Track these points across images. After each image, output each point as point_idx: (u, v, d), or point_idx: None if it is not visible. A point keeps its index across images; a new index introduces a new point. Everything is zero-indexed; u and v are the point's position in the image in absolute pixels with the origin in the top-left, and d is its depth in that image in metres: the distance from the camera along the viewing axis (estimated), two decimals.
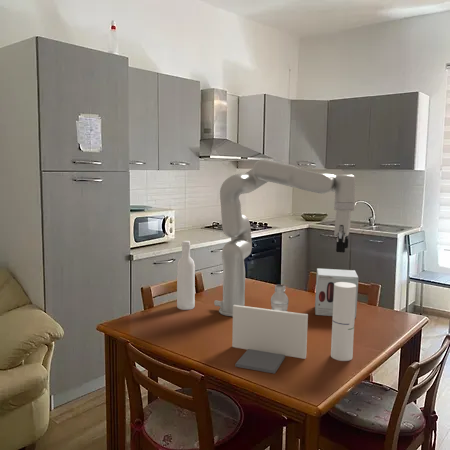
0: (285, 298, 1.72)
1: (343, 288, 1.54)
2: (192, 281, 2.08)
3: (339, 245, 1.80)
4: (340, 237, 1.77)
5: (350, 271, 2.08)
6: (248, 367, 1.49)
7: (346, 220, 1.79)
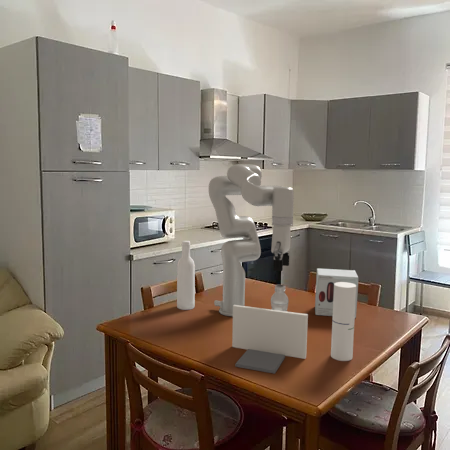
0: (285, 298, 1.72)
1: (343, 288, 1.54)
2: (192, 281, 2.08)
3: (276, 263, 1.67)
4: (276, 255, 1.64)
5: (350, 271, 2.08)
6: (248, 367, 1.49)
7: (283, 236, 1.66)
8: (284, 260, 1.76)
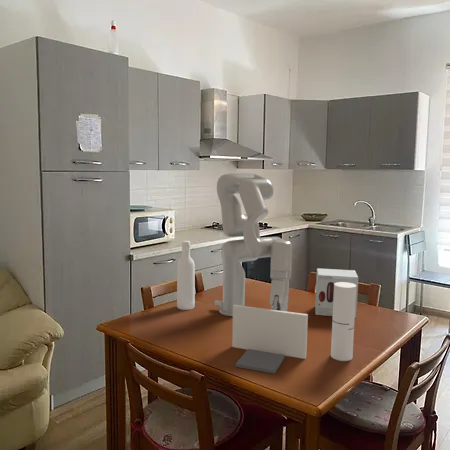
0: (285, 298, 1.72)
1: (343, 288, 1.54)
2: (192, 281, 2.08)
3: None
4: None
5: (350, 271, 2.08)
6: (248, 367, 1.49)
7: (281, 290, 1.69)
8: None
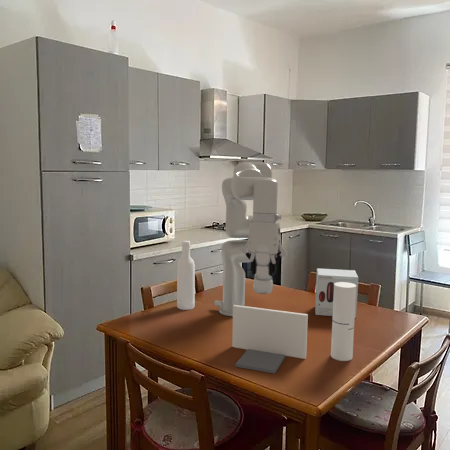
0: (258, 245, 1.48)
1: (343, 288, 1.54)
2: (192, 281, 2.08)
3: None
4: None
5: (350, 271, 2.08)
6: (248, 367, 1.49)
7: (248, 232, 1.50)
8: None
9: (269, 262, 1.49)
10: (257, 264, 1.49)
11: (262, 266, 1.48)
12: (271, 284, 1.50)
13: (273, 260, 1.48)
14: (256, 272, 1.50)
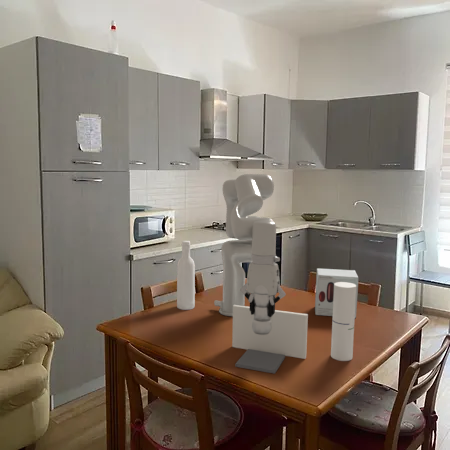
0: (257, 287, 1.49)
1: (343, 288, 1.54)
2: (192, 281, 2.08)
3: None
4: None
5: (350, 271, 2.08)
6: (248, 367, 1.49)
7: None
8: None
9: (268, 303, 1.50)
10: (256, 305, 1.51)
11: (260, 307, 1.50)
12: (270, 325, 1.51)
13: (272, 301, 1.49)
14: (255, 313, 1.51)
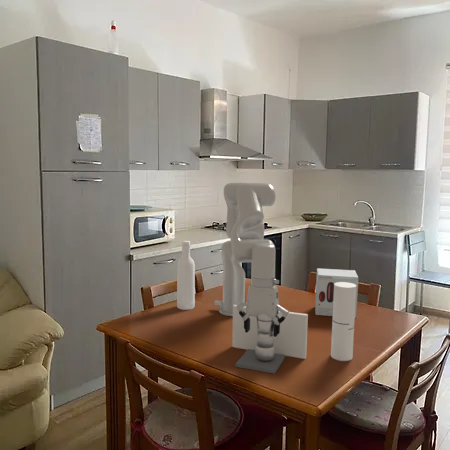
0: None
1: (343, 288, 1.54)
2: (192, 281, 2.08)
3: None
4: None
5: (350, 271, 2.08)
6: (248, 367, 1.49)
7: (247, 296, 1.52)
8: None
9: (271, 330, 1.51)
10: (259, 332, 1.52)
11: (263, 334, 1.51)
12: (273, 351, 1.52)
13: (277, 321, 1.50)
14: (258, 339, 1.52)
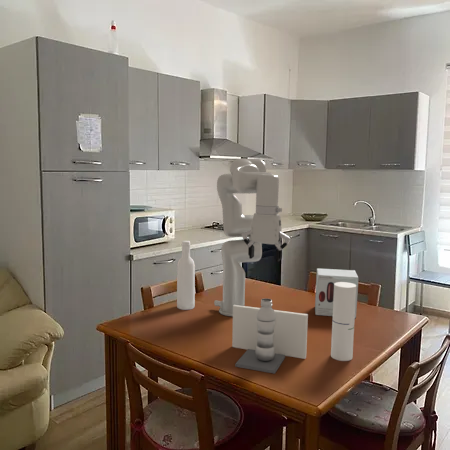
0: (260, 314, 1.51)
1: (343, 288, 1.54)
2: (192, 281, 2.08)
3: None
4: None
5: (350, 271, 2.08)
6: (248, 367, 1.49)
7: (251, 224, 1.62)
8: None
9: (271, 330, 1.51)
10: (259, 332, 1.52)
11: (264, 334, 1.51)
12: (273, 351, 1.52)
13: (279, 247, 1.60)
14: (258, 339, 1.52)
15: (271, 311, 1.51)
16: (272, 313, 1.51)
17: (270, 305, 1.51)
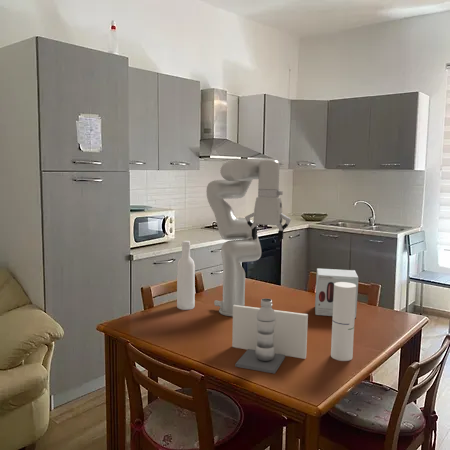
0: (260, 314, 1.51)
1: (343, 288, 1.54)
2: (192, 281, 2.08)
3: None
4: None
5: (350, 271, 2.08)
6: (248, 367, 1.49)
7: None
8: None
9: (271, 330, 1.51)
10: (259, 332, 1.52)
11: (264, 334, 1.51)
12: (273, 351, 1.52)
13: (280, 227, 1.71)
14: (258, 339, 1.52)
15: (271, 311, 1.51)
16: (272, 313, 1.51)
17: (270, 305, 1.51)
